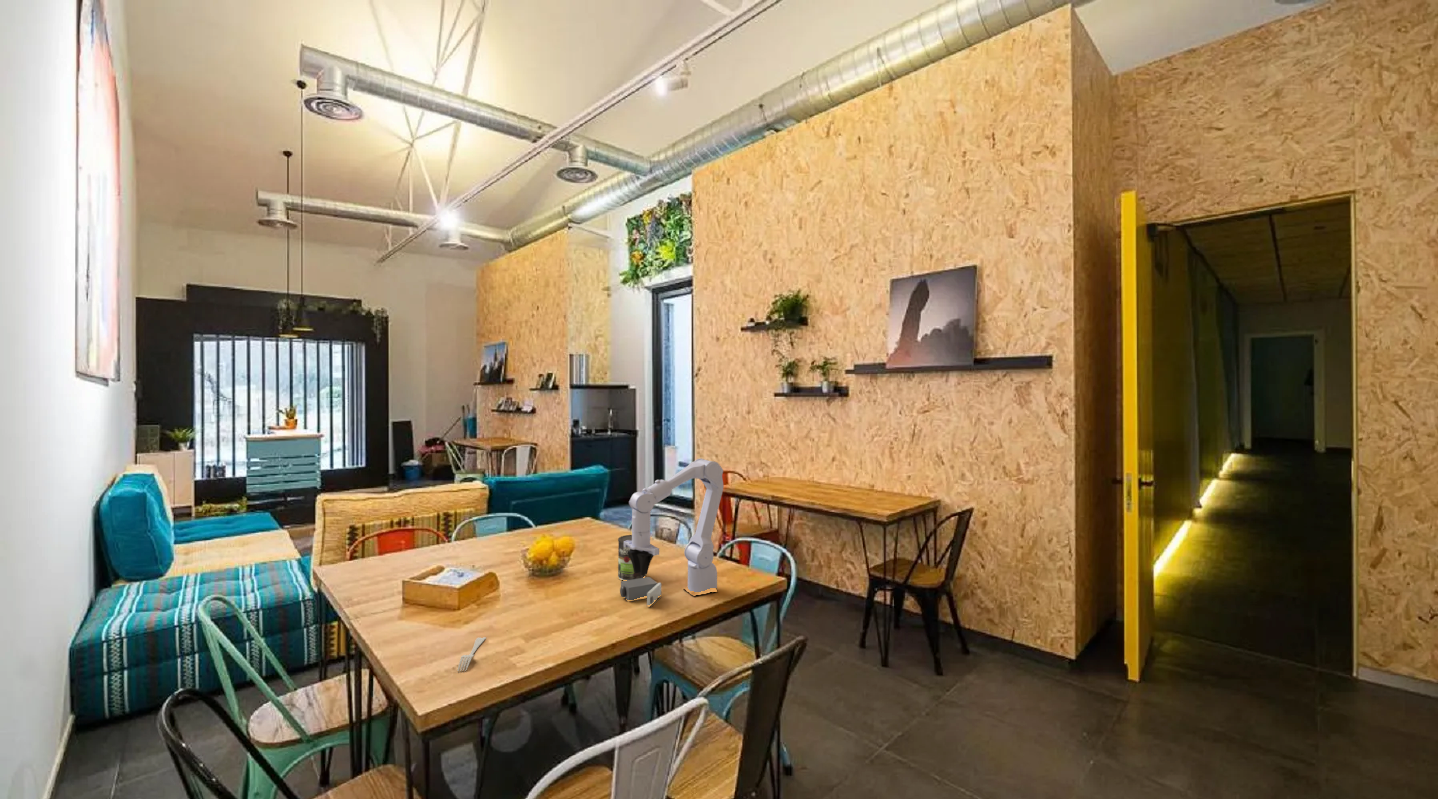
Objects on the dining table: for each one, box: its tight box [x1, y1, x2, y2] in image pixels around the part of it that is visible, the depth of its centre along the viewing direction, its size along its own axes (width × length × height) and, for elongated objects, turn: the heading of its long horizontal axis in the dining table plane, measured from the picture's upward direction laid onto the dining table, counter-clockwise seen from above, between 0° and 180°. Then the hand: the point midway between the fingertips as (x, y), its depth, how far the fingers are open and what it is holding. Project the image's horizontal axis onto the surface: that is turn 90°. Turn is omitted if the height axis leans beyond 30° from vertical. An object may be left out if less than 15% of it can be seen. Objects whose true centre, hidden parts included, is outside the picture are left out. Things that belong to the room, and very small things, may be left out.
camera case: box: [619, 576, 659, 601], centre depth 193 cm, size 11×7×4 cm, turn 120°
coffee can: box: [617, 534, 647, 581], centre depth 212 cm, size 10×10×14 cm
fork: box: [457, 636, 487, 672], centre depth 151 cm, size 3×21×3 cm, turn 9°
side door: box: [646, 582, 662, 606], centre depth 188 cm, size 10×2×4 cm, turn 165°
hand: (640, 573), depth 187 cm, fingers open, 2 cm apart
